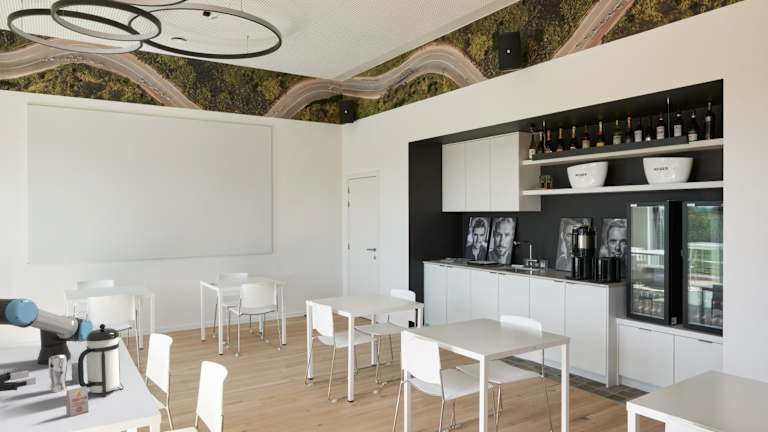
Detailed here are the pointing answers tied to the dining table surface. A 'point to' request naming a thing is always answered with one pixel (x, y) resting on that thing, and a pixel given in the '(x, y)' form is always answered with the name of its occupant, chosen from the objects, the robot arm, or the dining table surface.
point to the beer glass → (58, 372)
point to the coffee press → (101, 361)
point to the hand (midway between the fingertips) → (32, 376)
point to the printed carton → (77, 401)
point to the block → (75, 373)
